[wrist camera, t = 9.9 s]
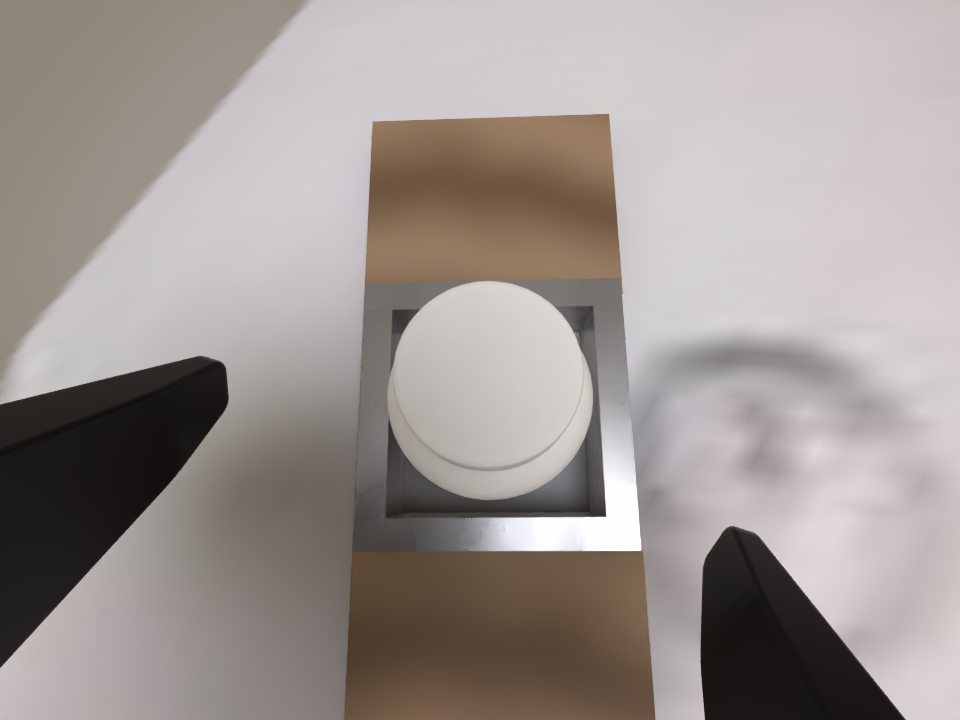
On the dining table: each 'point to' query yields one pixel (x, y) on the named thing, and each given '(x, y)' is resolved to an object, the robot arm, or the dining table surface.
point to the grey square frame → (601, 529)
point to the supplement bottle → (489, 391)
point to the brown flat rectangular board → (496, 574)
